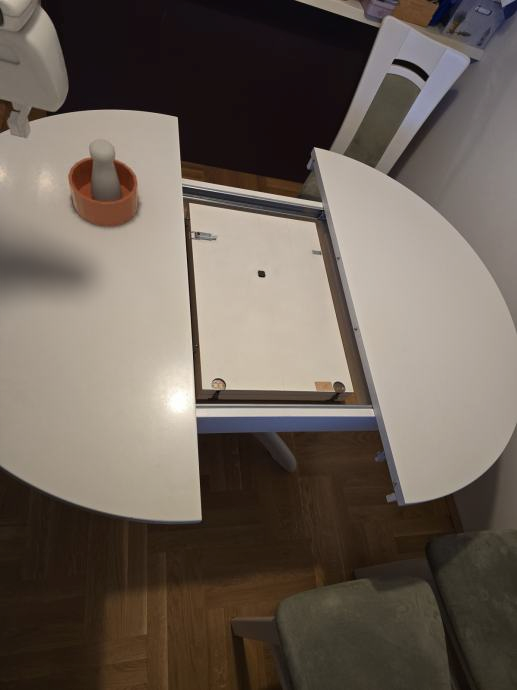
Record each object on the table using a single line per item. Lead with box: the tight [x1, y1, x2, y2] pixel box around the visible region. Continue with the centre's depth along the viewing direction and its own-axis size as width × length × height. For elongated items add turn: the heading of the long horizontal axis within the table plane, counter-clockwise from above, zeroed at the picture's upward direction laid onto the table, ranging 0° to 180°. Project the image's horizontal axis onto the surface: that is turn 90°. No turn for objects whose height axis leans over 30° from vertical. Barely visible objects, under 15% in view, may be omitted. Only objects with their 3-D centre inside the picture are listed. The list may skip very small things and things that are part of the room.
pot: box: [67, 156, 139, 227], centre depth 77 cm, size 12×12×6 cm
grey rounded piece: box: [88, 138, 122, 202], centre depth 73 cm, size 6×6×13 cm
